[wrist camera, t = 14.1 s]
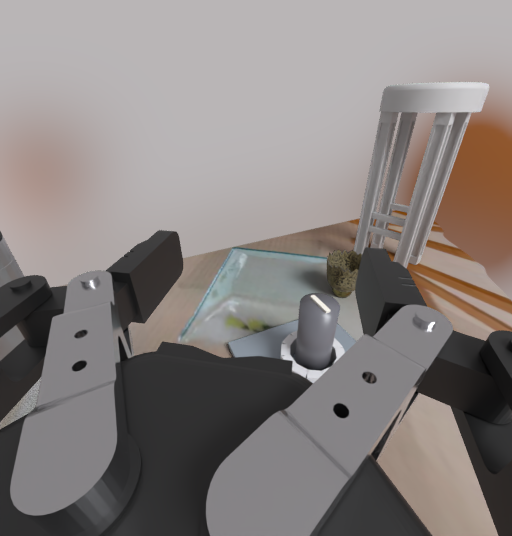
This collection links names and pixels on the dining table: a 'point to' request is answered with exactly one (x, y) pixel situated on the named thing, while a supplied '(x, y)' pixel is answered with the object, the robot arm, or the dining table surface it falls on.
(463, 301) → the dining table surface
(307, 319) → the grey cylinder with tab
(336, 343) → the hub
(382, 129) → the stool
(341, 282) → the cup
